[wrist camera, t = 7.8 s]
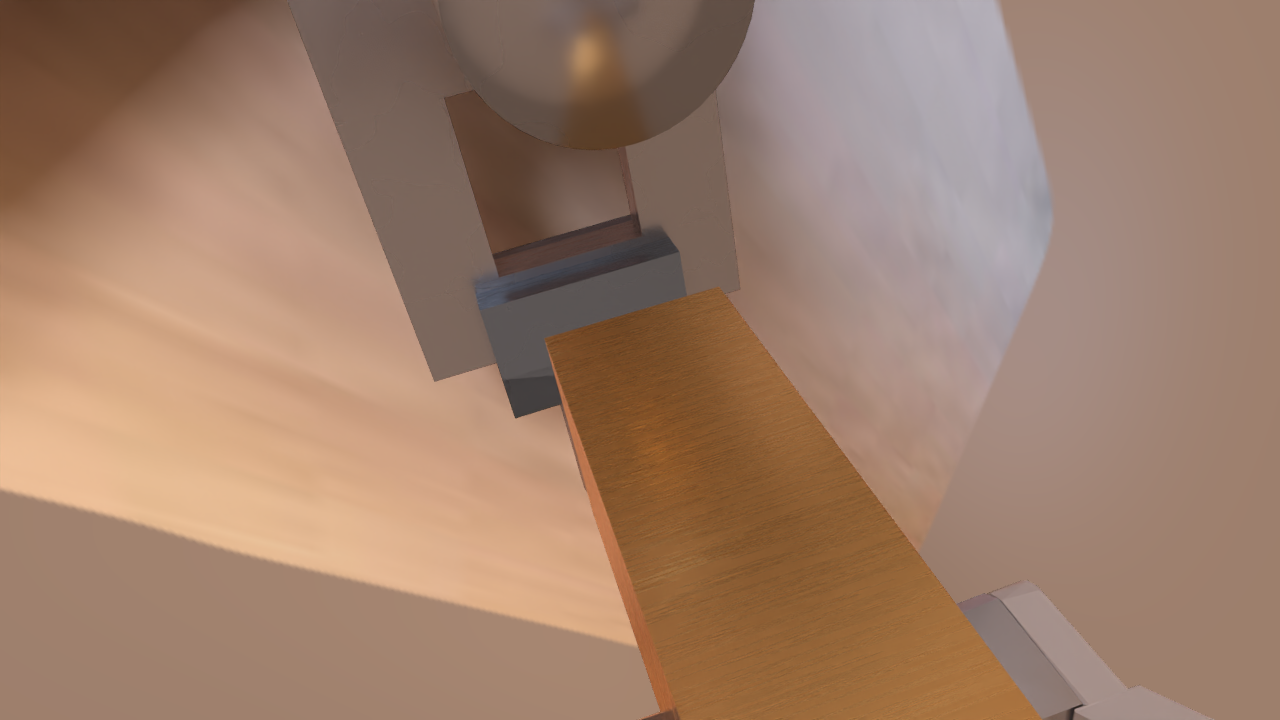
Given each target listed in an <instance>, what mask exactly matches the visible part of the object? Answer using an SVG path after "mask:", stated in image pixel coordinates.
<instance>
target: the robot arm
mask: <svg viewBox="0 0 1280 720" xmlns="http://www.w3.org/2000/svg"><path fill="white" fill-rule="evenodd" d="M956 605H957V606H958V607H959V609H960V610H961V611H962V613H963V614H964V615H965V617H966V618H967V619H968V621H969V622H970V623H971V625H972V626H973V627H974V629H975V630H976V631H977V633H978V634H979V635H980V637H981V638H982V639H983V641H984V642H985V643H986V645H987V646H988V647H989V649H990V650H991V651H992V653H993V654H994V656H995V657H996V658H997V660H998V661H999V662H1000V664H1001V665H1002V666H1003V668H1004V669H1005V670H1006V672H1007V673H1008V674H1009V676H1010V677H1011V678H1012V680H1013V681H1014V682H1015V684H1016V685H1017V686H1018V688H1019V689H1020V690H1021V692H1022V693H1023V694H1024V696H1025V697H1026V698H1027V700H1028V701H1029V702H1030V704H1031V705H1032V706H1033V708H1034V709H1035V710H1036V712H1037V713H1038V714H1039V716H1040V717H1041V718H1042V720H1214V719H1212V718H1210V717H1208V716H1206V715H1203V714H1201V713H1199V712H1197V711H1195V710H1193V709H1190V708H1188V707H1186V706H1184V705H1182V704H1180V703H1177V702H1175V701H1173V700H1171V699H1169V698H1167V697H1165V696H1162V695H1160V694H1158V693H1156V692H1154V691H1152V690H1149V689H1147V688H1145V687H1143V686H1141V685H1138V686H1134V687H1132V688H1127V687H1126V686H1125V685H1124V684H1123V683H1122V681H1121V680H1120V679H1119V678H1118V677H1117V676H1116V674H1115V673H1114V672H1113V671H1112V670H1111V669H1110V668H1109V667H1108V665H1107V664H1106V663H1105V662H1104V661H1103V660H1102V659H1101V657H1100V656H1099V655H1098V654H1097V653H1096V652H1095V651H1094V649H1093V648H1092V647H1091V646H1090V645H1089V644H1088V643H1087V641H1086V640H1085V639H1084V638H1083V637H1082V636H1081V635H1080V633H1079V632H1078V631H1077V630H1076V629H1075V628H1074V627H1073V626H1072V624H1071V623H1070V622H1069V621H1068V620H1067V619H1066V618H1065V616H1064V615H1063V614H1062V613H1061V612H1060V611H1059V610H1058V608H1057V607H1056V606H1055V605H1054V604H1053V603H1052V602H1051V600H1050V599H1049V598H1048V597H1047V596H1046V595H1045V594H1044V592H1043V591H1042V590H1041V589H1040V588H1039V587H1038V586H1037V585H1035V584H1033V583H1031V582H1030V581H1019V582H1016V583H1014V584H1011V585H1008V586H1006V587H1003V588H1000V589H997V590H995V591H992V592H989V593H987V594H985V593H984V594H981V595H978V596H976V597H973V598H971V599H968V600H965V601H963V602H960V603H958V604H956ZM638 720H675V719H674V717H673V714H672V712H671V710H670V709H666V710H663V711H660V712H658V713H655V714H652V715H649V716H646V717H643V718H641V719H638Z"/></svg>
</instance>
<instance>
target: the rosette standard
mask: <svg viewBox="0 0 1280 720" xmlns="http://www.w3.org/2000/svg"><path fill="white" fill-rule="evenodd" d="M287 2H288V4H289V7H290V9H291V12H292V15H293V17H294V20H295V22H296V25H297V27H298V30H299V33H300V35H301V38H302V40H303V43H304V46H305V48H306V51H307V53H308V56H309V59H310V61H311V64H312V66H313V69H314V71H315V74H316V77H317V79H318V82H319V84H320V87H321V90H322V92H323V95H324V97H325V100H326V102H327V105H328V108H329V110H330V113H331V115H332V118H333V121H334V123H335V126H336V128H337V131H338V133H339V136H340V139H341V141H342V144H343V146H344V149H345V152H346V154H347V157H348V159H349V162H350V165H351V167H352V170H353V172H354V175H355V177H356V180H357V183H358V185H359V188H360V190H361V193H362V196H363V198H364V201H365V203H366V206H367V208H368V211H369V214H370V216H371V219H372V221H373V224H374V227H375V229H376V232H377V234H378V237H379V239H380V242H381V245H382V247H383V250H384V252H385V255H386V258H387V260H388V263H389V265H390V268H391V271H392V273H393V276H394V278H395V281H396V283H397V286H398V289H399V291H400V294H401V296H402V299H403V302H404V304H405V307H406V309H407V312H408V314H409V317H410V320H411V322H412V325H413V327H414V330H415V333H416V335H417V338H418V340H419V343H420V345H421V348H422V351H423V353H424V356H425V358H426V361H427V364H428V366H429V369H430V371H431V374H432V377H433V379H434V382H435V381H439V380H442V379H445V378H449V377H452V376H455V375H459V374H462V373H465V372H468V371H472V370H475V369H478V368H482V367H485V366H488V365H492V364H495V363H497V365H498V368H499V371H500V374H501V377H502V380H503V383H504V386H505V389H506V392H507V395H508V398H509V401H510V404H511V407H512V410H513V413H514V416H515V418H518V417H521V416H525V415H528V414H531V413H534V412H537V411H541V410H544V409H547V408H550V407H553V406H557V405H561V409H562V412H563V416H564V419H565V423H566V426H567V430H568V433H569V436H570V440H571V443H572V447H573V450H574V454H575V457H576V461H577V464H578V468H579V471H580V475H581V478H582V482H583V485H584V488H585V490H586V491H587V489H586V486H585V482H584V478H583V475H582V471H581V468H580V464H579V461H578V457H577V453H576V450H575V446H574V443H573V439H572V436H571V432H570V428H569V425H568V421H567V418H566V414H565V411H564V407H563V403H562V400H561V396H560V393H559V389H558V386H557V382H556V378H555V375H554V371H553V368H552V364H551V361H550V357H549V353H548V350H547V346H546V343H545V339H544V338H547V337H550V336H554V335H557V334H560V333H564V332H567V331H571V330H574V329H577V328H581V327H584V326H587V325H591V324H594V323H598V322H601V321H604V320H608V319H611V318H614V317H618V316H621V315H625V314H628V313H631V312H635V311H638V310H641V309H645V308H648V307H652V306H655V305H658V304H662V303H665V302H669V301H672V300H675V299H679V298H682V297H685V296H689V295H692V294H696V293H699V292H702V291H706V290H709V289H712V288H716V287H720V288H721V290H722V291H723V292H724V294H726V293H729V292H733V291H736V290H739V289H740V282H739V274H738V266H737V258H736V250H735V242H734V234H733V226H732V218H731V210H730V202H729V194H728V186H727V178H726V170H725V162H724V154H723V146H722V138H721V130H720V122H719V114H718V106H717V98H716V90H715V89H716V88H717V87H718V85H719V84H720V83H721V81H722V80H723V79H724V77H725V76H726V74H727V73H728V71H729V69H730V68H731V66H732V64H733V62H734V61H735V59H736V57H737V55H738V53H739V50H740V48H741V46H742V44H743V41H744V39H745V36H746V33H747V30H748V27H749V24H750V21H751V17H752V12H753V7H754V2H755V0H287ZM472 90H475V91H476V93H477V94H478V95H479V96H480V97H481V98H482V99H483V100H484V102H485V103H486V104H487V105H488V106H489V107H490V108H491V109H493V110H494V111H495V112H496V113H497V114H498V115H499V116H501V117H502V118H503V119H504V120H506V121H507V122H509V123H510V124H512V125H513V126H515V127H516V128H518V129H519V130H521V131H523V132H525V133H527V134H529V135H531V136H533V137H535V138H537V139H539V140H542V141H545V142H548V143H552V144H555V145H558V146H563V147H568V148H574V149H586V150H601V149H614V148H618V152H619V157H620V162H621V167H622V172H623V177H624V182H625V188H626V193H627V198H628V203H629V208H630V213H631V215H627V216H624V217H620V218H617V219H613V220H610V221H606V222H603V223H599V224H596V225H593V226H589V227H586V228H582V229H579V230H575V231H572V232H568V233H565V234H561V235H558V236H554V237H551V238H547V239H544V240H540V241H537V242H533V243H530V244H526V245H523V246H519V247H516V248H512V249H509V250H505V251H502V252H498V253H495V254H492V252H491V249H490V246H489V243H488V239H487V236H486V233H485V230H484V226H483V223H482V220H481V217H480V213H479V210H478V207H477V204H476V200H475V197H474V194H473V191H472V187H471V184H470V181H469V177H468V174H467V171H466V168H465V164H464V161H463V158H462V155H461V151H460V148H459V145H458V142H457V138H456V135H455V132H454V129H453V125H452V122H451V119H450V116H449V112H448V109H447V106H446V103H445V99H444V98H445V97H449V96H453V95H457V94H461V93H464V92H468V91H472Z"/></svg>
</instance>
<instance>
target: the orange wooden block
mask: <svg viewBox="0 0 1280 720" xmlns="http://www.w3.org/2000/svg"><path fill="white" fill-rule="evenodd" d="M544 339H545V343H546V346H547V350H548V353H549V357H550V361H551V364H552V368H553V371H554V375H555V378H556V382H557V386H558V389H559V393H560V396H561V400H562V403H563V407H564V411H565V414H566V418H567V421H568V425H569V428H570V432H571V436H572V439H573V443H574V446H575V450H576V453H577V457H578V461H579V464H580V468H581V471H582V475H583V478H584V482H585V486H586V489H587V493H588V496H589V500H590V503H591V507H592V511H593V514H594V517H595V520H596V523H597V526H598V529H599V532H600V535H601V538H602V540H603V543H604V546H605V549H606V552H607V555H608V558H609V561H610V564H611V567H612V570H613V573H614V576H615V579H616V582H617V585H618V588H619V591H620V594H621V596H622V599H623V602H624V605H625V608H626V611H627V614H628V617H629V620H630V623H631V626H632V629H633V632H634V635H635V638H636V641H637V644H638V647H639V650H640V652H641V655H642V658H643V661H644V664H645V667H646V670H647V673H648V676H649V679H650V682H651V685H652V688H653V691H654V694H655V697H656V699H657V702H658V705H659V708H660V711H663V710H666V709H670V710H671V712H672V714H673V717H674V719H675V720H1042V718H1041V717H1040V716H1039V714H1038V713H1037V712H1036V710H1035V709H1034V708H1033V706H1032V705H1031V704H1030V702H1029V701H1028V700H1027V698H1026V697H1025V696H1024V694H1023V693H1022V692H1021V690H1020V689H1019V688H1018V686H1017V685H1016V684H1015V682H1014V681H1013V680H1012V678H1011V677H1010V676H1009V674H1008V673H1007V672H1006V670H1005V669H1004V668H1003V666H1002V665H1001V664H1000V662H999V661H998V660H997V658H996V657H995V656H994V654H993V653H992V651H991V650H990V649H989V647H988V646H987V645H986V643H985V642H984V641H983V639H982V638H981V637H980V635H979V634H978V633H977V631H976V630H975V629H974V627H973V626H972V625H971V623H970V622H969V621H968V619H967V618H966V617H965V615H964V614H963V613H962V611H961V610H960V609H959V607H958V606H957V605H956V603H955V602H954V601H953V599H952V598H951V597H950V595H949V594H948V593H947V591H946V590H945V589H944V587H943V586H942V585H941V583H940V582H939V580H938V579H937V578H936V576H935V575H934V574H933V572H932V571H931V570H930V568H929V567H928V566H927V564H926V563H925V562H924V560H923V559H922V558H921V556H920V555H919V554H918V552H917V551H916V550H915V548H914V547H913V546H912V544H911V543H910V542H909V540H908V539H907V538H906V536H905V535H904V534H903V532H902V531H901V530H900V528H899V527H898V526H897V524H896V523H895V522H894V520H893V519H892V518H891V516H890V515H889V514H888V512H887V511H886V509H885V508H884V507H883V505H882V504H881V503H880V501H879V500H878V499H877V497H876V496H875V495H874V493H873V492H872V491H871V489H870V488H869V487H868V485H867V484H866V483H865V481H864V480H863V479H862V477H861V476H860V475H859V473H858V472H857V471H856V469H855V468H854V467H853V465H852V464H851V463H850V461H849V460H848V459H847V457H846V456H845V455H844V453H843V452H842V451H841V449H840V448H839V447H838V445H837V444H836V442H835V441H834V440H833V438H832V437H831V436H830V434H829V433H828V432H827V430H826V429H825V428H824V426H823V425H822V424H821V422H820V421H819V420H818V418H817V417H816V416H815V414H814V413H813V412H812V410H811V409H810V408H809V406H808V405H807V404H806V402H805V401H804V400H803V398H802V397H801V396H800V394H799V393H798V392H797V390H796V389H795V388H794V386H793V385H792V384H791V382H790V381H789V380H788V378H787V377H786V376H785V374H784V373H783V371H782V370H781V369H780V367H779V366H778V365H777V363H776V362H775V361H774V359H773V358H772V357H771V355H770V354H769V353H768V351H767V350H766V349H765V347H764V346H763V345H762V343H761V342H760V341H759V339H758V338H757V337H756V335H755V334H754V333H753V331H752V330H751V329H750V327H749V326H748V325H747V323H746V322H745V321H744V319H743V318H742V317H741V315H740V314H739V313H738V311H737V310H736V309H735V307H734V306H733V305H732V303H731V302H730V300H729V299H728V298H727V296H726V295H725V294H724V292H723V291H722V290H721V288H720V287H716V288H712V289H709V290H706V291H702V292H699V293H696V294H692V295H689V296H685V297H682V298H679V299H675V300H672V301H669V302H665V303H662V304H658V305H655V306H652V307H648V308H645V309H641V310H638V311H635V312H631V313H628V314H625V315H621V316H618V317H614V318H611V319H608V320H604V321H601V322H598V323H594V324H591V325H587V326H584V327H581V328H577V329H574V330H571V331H567V332H564V333H560V334H557V335H554V336H550V337H547V338H544Z"/></svg>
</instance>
